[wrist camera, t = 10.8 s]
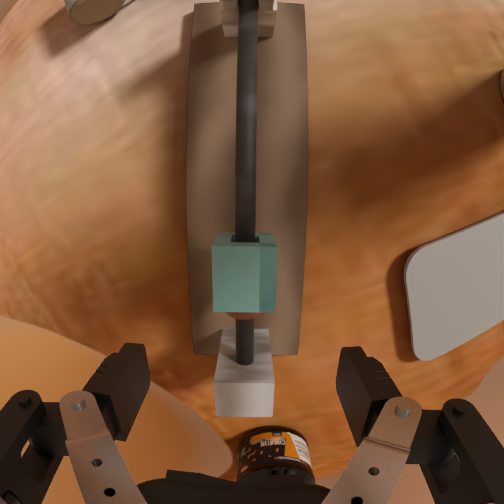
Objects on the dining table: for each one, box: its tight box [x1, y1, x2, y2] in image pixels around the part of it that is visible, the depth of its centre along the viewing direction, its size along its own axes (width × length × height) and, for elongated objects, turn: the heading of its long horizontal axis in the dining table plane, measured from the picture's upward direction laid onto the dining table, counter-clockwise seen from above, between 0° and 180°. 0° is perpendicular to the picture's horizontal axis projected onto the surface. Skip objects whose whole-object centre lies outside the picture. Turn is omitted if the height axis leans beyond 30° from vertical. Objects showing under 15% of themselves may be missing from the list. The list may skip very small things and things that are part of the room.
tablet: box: [404, 212, 504, 361], centre depth 34 cm, size 16×26×2 cm, turn 108°
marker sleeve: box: [212, 233, 278, 313], centre depth 25 cm, size 5×5×6 cm
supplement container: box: [237, 426, 315, 484], centre depth 34 cm, size 10×10×12 cm
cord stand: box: [186, 0, 308, 417], centre depth 26 cm, size 12×40×12 cm, turn 179°
